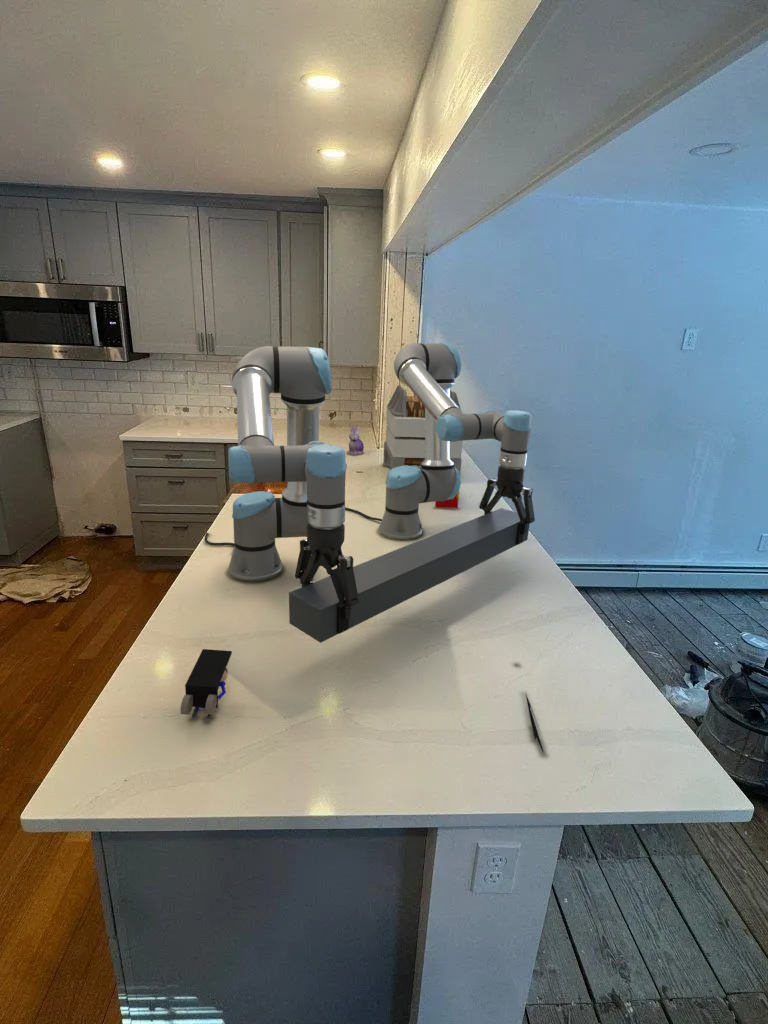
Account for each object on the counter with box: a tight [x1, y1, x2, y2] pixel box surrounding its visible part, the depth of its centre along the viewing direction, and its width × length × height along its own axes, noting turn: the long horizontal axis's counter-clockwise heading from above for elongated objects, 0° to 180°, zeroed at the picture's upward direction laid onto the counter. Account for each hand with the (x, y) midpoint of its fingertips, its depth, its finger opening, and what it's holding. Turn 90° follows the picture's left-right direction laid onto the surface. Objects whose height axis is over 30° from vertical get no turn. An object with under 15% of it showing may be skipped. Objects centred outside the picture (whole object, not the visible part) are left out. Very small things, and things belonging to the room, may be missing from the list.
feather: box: [525, 691, 547, 753], centre depth 115 cm, size 2×28×2 cm
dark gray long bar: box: [288, 507, 531, 644], centre depth 144 cm, size 82×10×8 cm, turn 137°
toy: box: [434, 490, 460, 509], centre depth 239 cm, size 12×13×30 cm
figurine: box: [348, 424, 365, 456], centre depth 304 cm, size 9×10×15 cm
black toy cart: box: [180, 648, 233, 720], centre depth 111 cm, size 7×8×15 cm
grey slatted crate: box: [383, 384, 464, 476], centre depth 268 cm, size 34×33×41 cm
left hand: (325, 620), depth 121 cm, fingers closed on dark gray long bar, 10 cm apart
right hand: (503, 537), depth 169 cm, fingers closed on dark gray long bar, 10 cm apart
